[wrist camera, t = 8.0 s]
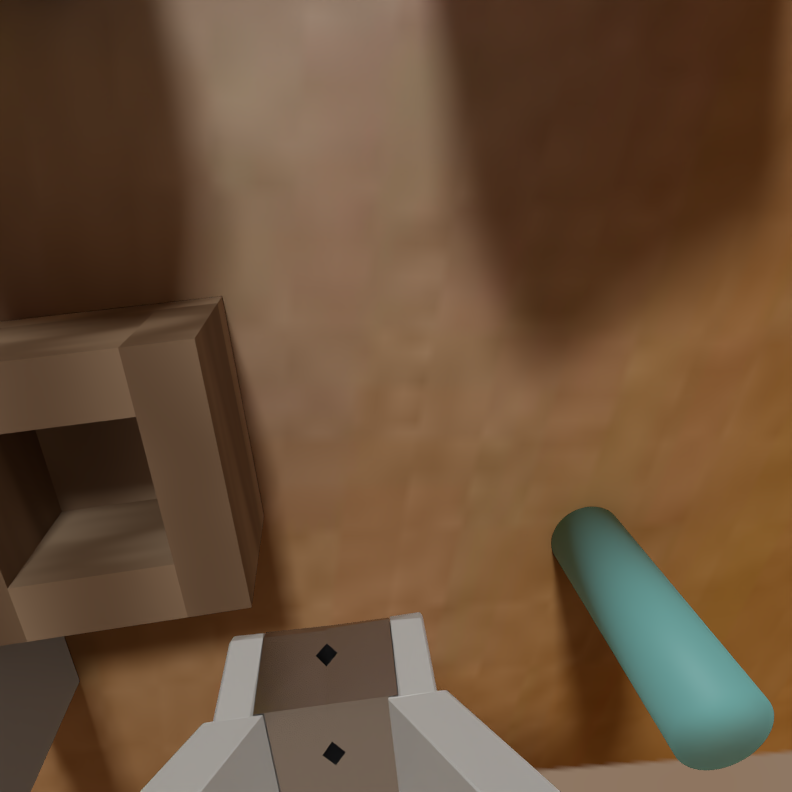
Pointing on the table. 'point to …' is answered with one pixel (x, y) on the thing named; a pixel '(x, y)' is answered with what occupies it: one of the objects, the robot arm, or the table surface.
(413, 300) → the table surface
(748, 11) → the table surface
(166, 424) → the block
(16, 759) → the wall
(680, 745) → the dowel
